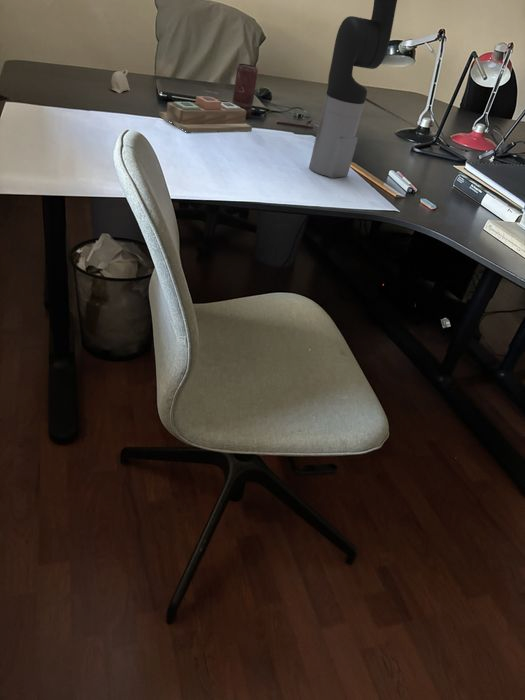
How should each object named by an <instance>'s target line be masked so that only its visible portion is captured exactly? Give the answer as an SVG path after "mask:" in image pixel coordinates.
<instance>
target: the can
mask: <svg viewBox="0 0 525 700" xmlns="http://www.w3.org/2000/svg"><path fill="white" fill-rule="evenodd" d="M258 71H259V70H258V67H257V66H256V65H255V66H254V65H252V64H247V63H239V64H238V65H237V67H236V75H235V83H234V87H233V88H234V90H233V96H232V102H231V103H232V104H234V105H236V106H238V107H240V108H242V109H244V110H246V111H247V112H246V118H245V120H247V119H249V118H250V117H251V115H252V110H253V104H254V96H255V90H256V85H257V80H258V73H259V72H258Z"/></svg>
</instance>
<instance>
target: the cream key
mask: <svg viewBox="0 0 525 700" xmlns="http://www.w3.org/2000/svg"><path fill="white" fill-rule="evenodd" d="M221 102H222V103H221V108H223V109H225V110H240V109H241V108H240V107H238V106H236V105H234V104H232V102H230V101H229V102H223V101H221Z"/></svg>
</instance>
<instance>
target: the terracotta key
mask: <svg viewBox="0 0 525 700" xmlns="http://www.w3.org/2000/svg"><path fill="white" fill-rule="evenodd" d="M195 102H196V104H195V105H197V106H199V107H201V108H202V109H204V110H221V103H222V102H223V101H220V100H219V99H217V98H214V97H212V96H198V95H197V96H195Z"/></svg>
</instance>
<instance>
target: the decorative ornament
mask: <svg viewBox="0 0 525 700" xmlns="http://www.w3.org/2000/svg"><path fill="white" fill-rule="evenodd" d="M128 73H129V71H128V69H123V70H122V71H121V70H117V71H115V72H113V73H112V76H111V87H112V88H111V90H112V91H114V92H116V93H118V94H121V93H123V92H124V91H131V89H130V85H129V82H128V79H127V75H128Z"/></svg>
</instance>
